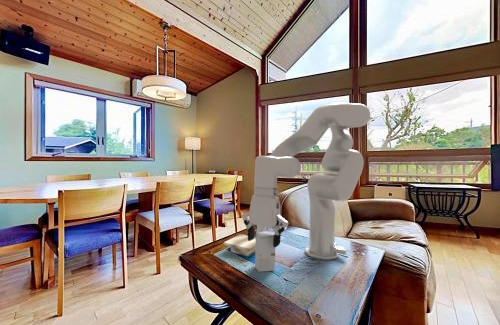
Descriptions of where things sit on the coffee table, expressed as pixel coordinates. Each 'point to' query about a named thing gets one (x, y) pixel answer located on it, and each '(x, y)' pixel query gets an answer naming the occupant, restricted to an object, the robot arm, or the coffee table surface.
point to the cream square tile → (241, 245)
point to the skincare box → (264, 251)
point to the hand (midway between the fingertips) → (263, 242)
